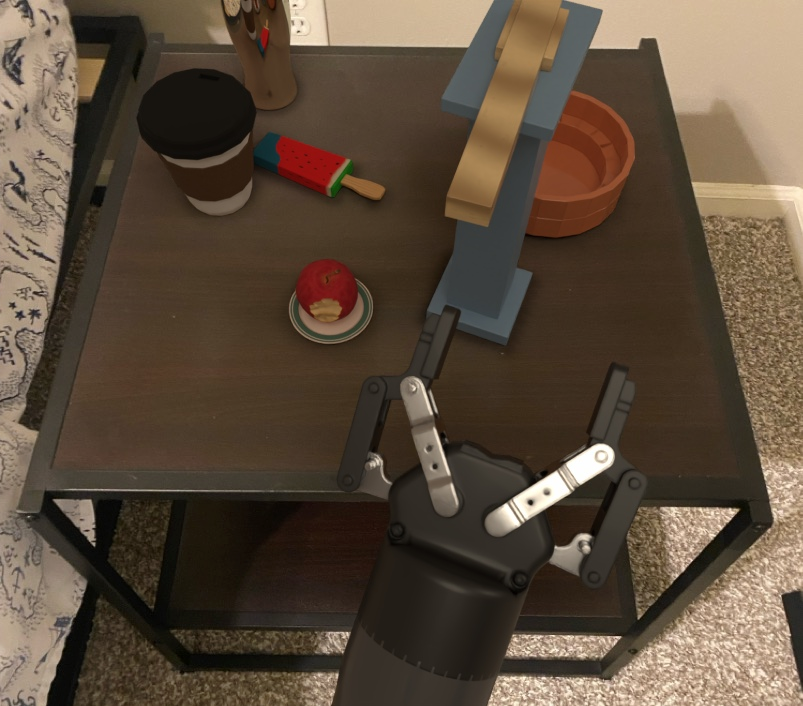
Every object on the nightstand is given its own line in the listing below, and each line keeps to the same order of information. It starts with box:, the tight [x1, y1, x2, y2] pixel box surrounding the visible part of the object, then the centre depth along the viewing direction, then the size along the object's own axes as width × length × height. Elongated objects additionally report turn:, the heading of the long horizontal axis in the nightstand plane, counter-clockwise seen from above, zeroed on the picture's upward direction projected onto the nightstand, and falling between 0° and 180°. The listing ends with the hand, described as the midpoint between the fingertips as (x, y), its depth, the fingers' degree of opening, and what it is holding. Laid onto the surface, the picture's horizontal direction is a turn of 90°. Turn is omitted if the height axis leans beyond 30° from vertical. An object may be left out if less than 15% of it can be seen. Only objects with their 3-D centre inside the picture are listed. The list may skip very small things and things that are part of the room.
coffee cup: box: [135, 67, 258, 217], centre depth 70 cm, size 11×11×12 cm
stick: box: [444, 0, 569, 227], centre depth 41 cm, size 18×4×2 cm, turn 162°
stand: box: [425, 0, 604, 346], centre depth 57 cm, size 12×8×28 cm, turn 158°
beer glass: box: [219, 0, 298, 111], centre depth 76 cm, size 7×7×15 cm
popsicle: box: [253, 131, 386, 201], centre depth 76 cm, size 5×2×15 cm
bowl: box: [525, 89, 636, 239], centre depth 74 cm, size 16×16×6 cm
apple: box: [288, 258, 374, 345], centre depth 65 cm, size 8×8×6 cm
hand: (534, 335), depth 35 cm, fingers open, 8 cm apart
